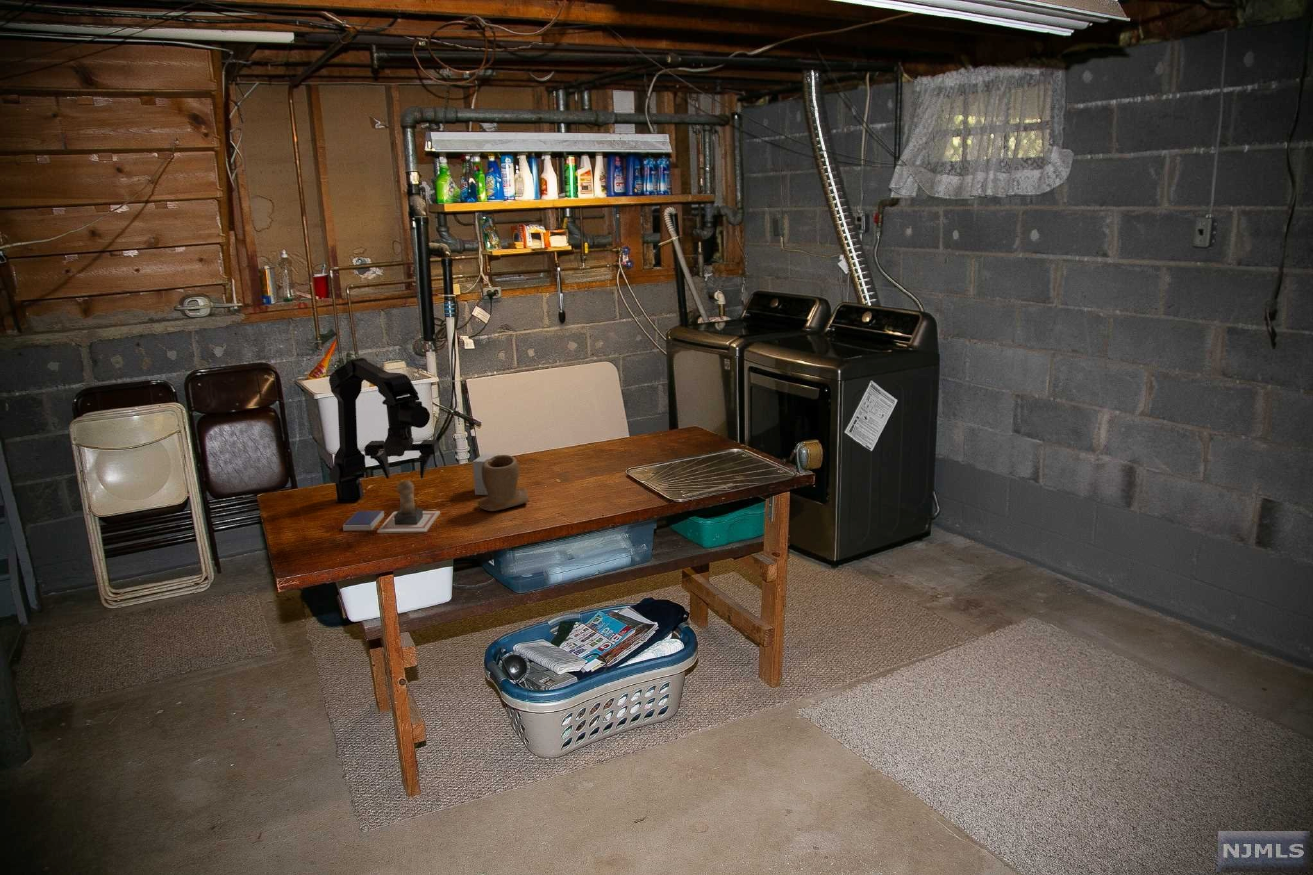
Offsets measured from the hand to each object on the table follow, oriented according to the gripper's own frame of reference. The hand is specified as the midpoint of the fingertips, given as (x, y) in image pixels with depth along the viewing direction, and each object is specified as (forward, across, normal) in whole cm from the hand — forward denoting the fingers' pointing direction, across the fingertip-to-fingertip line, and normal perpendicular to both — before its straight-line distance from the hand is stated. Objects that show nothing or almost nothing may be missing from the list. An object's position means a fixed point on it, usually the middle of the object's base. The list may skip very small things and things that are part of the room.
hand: (405, 478), depth 244 cm
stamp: (+12, 0, 0) cm, 12 cm away
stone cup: (+13, +24, +12) cm, 30 cm away
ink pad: (+13, -13, 0) cm, 18 cm away
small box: (+13, +16, +26) cm, 33 cm away
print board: (+13, 0, 0) cm, 13 cm away
